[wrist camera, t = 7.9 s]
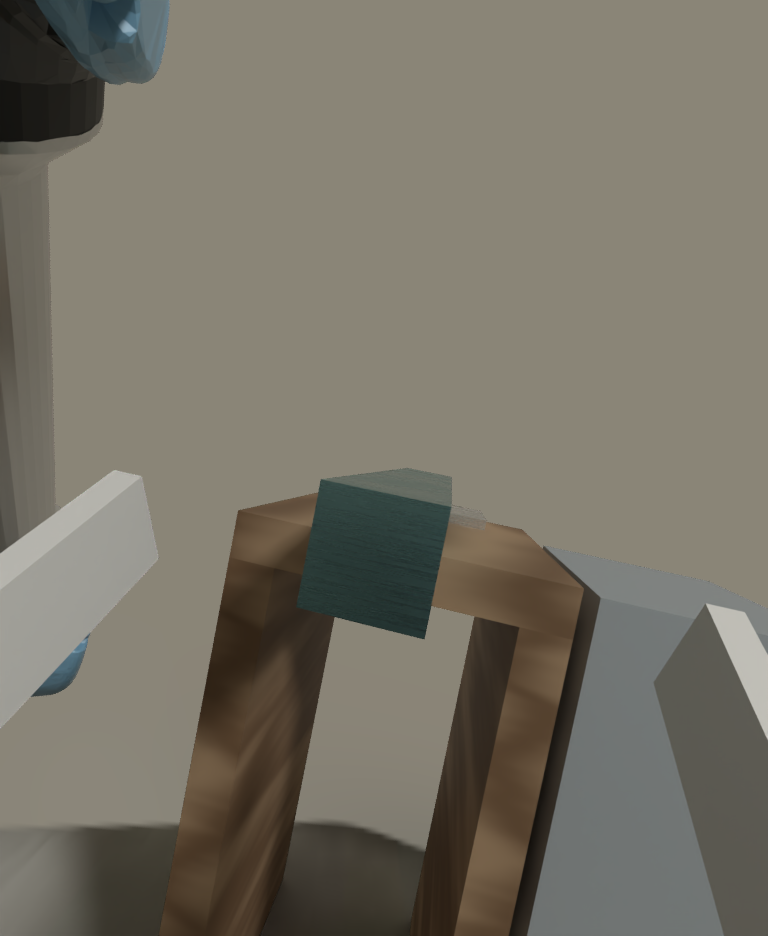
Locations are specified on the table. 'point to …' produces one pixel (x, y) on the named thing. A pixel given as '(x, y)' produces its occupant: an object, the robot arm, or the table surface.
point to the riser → (293, 711)
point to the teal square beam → (380, 547)
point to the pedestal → (619, 767)
